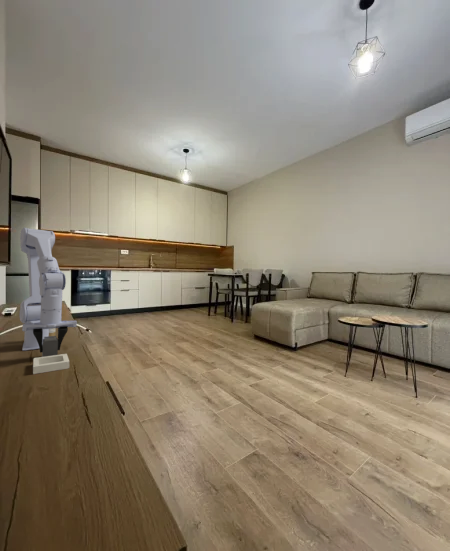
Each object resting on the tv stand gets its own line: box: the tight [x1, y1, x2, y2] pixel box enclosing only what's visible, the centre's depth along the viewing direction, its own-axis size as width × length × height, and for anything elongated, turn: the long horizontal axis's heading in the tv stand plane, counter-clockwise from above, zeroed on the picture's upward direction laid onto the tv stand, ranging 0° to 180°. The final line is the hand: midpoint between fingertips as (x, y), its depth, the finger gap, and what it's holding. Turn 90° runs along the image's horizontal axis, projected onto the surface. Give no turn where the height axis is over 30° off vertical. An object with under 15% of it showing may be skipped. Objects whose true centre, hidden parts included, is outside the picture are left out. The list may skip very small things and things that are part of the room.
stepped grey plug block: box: [41, 335, 59, 357], centre depth 83 cm, size 4×4×6 cm
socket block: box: [32, 353, 70, 375], centre depth 75 cm, size 8×8×2 cm
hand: (49, 350), depth 83 cm, fingers closed on stepped grey plug block, 4 cm apart
